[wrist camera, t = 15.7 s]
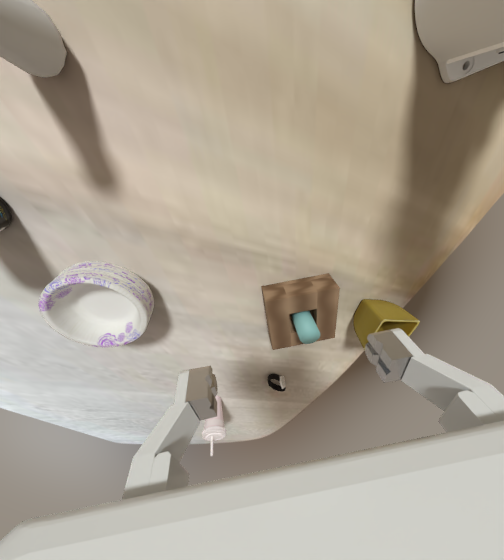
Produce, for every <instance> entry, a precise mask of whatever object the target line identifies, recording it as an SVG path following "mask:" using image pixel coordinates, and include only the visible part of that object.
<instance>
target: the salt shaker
mask: <svg viewBox="0 0 504 560" xmlns="http://www.w3.org/2000/svg"><path fill="white" fill-rule="evenodd" d="M66 56H67V51H66V49H65V47H64V44H63V41H62V38H61V35H60V32H59V31H58V29H57V28H56V26H55V24H54V23H53V21H52V20H51V18H50V17H49V15H48V14H47V13H46V12H45V11H44V10H42V9H41V8H40V7H39V6H38V5H37V4H35V3H34V2H33V1H32V0H0V57H2V58H4V59H5V60H7V61H9V62H10V63H12V64H14V65H15V66H17V67H19V68H20V69H22V70H23V71H25V72H27V73H29V74H32V75H36V76H39V77H43V78H46V77H51V76H56V75H58V74H59V73H60V72H61V70H62V68H63V67H64V64H65V59H66Z"/></svg>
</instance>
